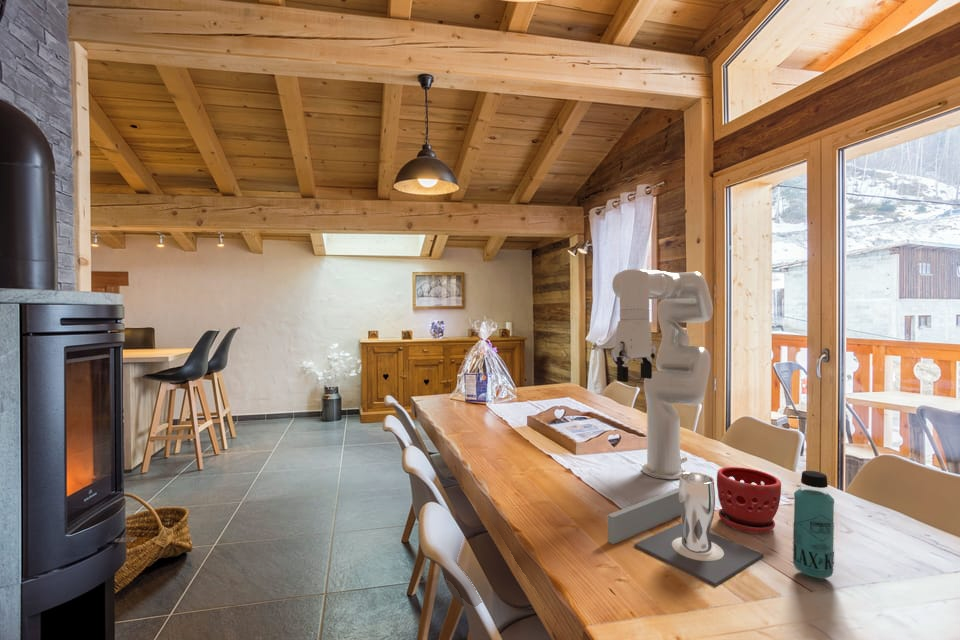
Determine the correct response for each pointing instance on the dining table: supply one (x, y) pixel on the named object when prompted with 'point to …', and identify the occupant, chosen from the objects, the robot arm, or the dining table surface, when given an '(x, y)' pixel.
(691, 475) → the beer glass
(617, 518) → the low wall
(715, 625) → the dining table surface
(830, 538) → the beverage bottle
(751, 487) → the plant pot
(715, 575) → the dark gray mat
